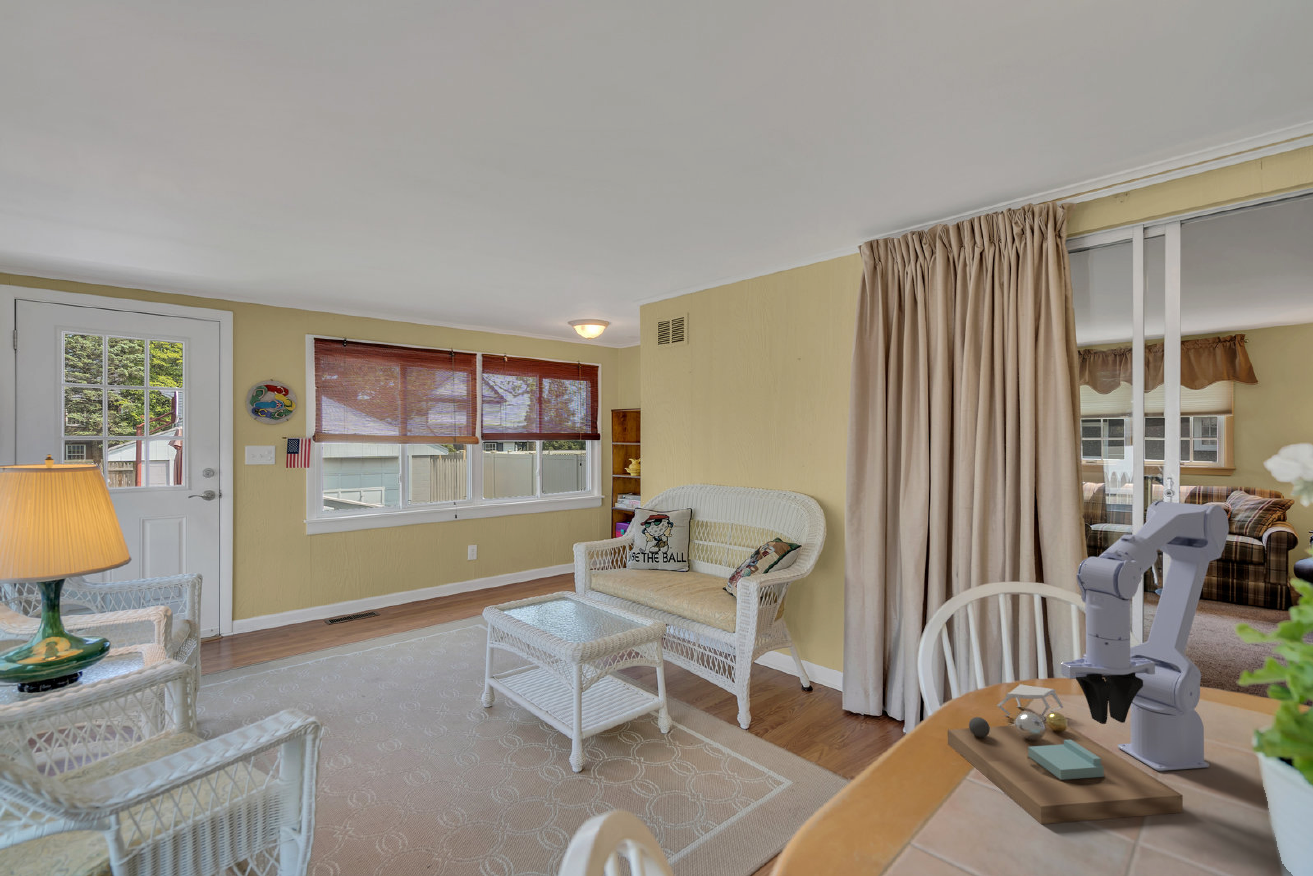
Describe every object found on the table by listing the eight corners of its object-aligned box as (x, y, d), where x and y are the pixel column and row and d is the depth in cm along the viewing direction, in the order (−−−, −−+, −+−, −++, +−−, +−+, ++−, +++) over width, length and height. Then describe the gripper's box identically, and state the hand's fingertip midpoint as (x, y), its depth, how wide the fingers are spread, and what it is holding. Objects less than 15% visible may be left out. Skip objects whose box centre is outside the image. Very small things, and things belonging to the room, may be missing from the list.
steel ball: (1033, 732, 109) (1033, 707, 109) (1051, 744, 105) (1051, 718, 105) (1009, 733, 109) (1009, 708, 109) (1027, 746, 104) (1027, 720, 104)
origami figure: (1024, 701, 128) (1024, 677, 128) (1066, 717, 120) (1065, 692, 120) (984, 712, 123) (984, 687, 123) (1025, 730, 115) (1025, 704, 115)
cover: (1068, 753, 102) (1068, 738, 102) (1103, 776, 95) (1103, 760, 95) (1028, 756, 101) (1028, 740, 101) (1060, 779, 94) (1060, 763, 94)
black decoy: (982, 731, 110) (982, 713, 110) (993, 740, 106) (993, 721, 106) (965, 732, 109) (964, 714, 109) (976, 741, 106) (976, 722, 106)
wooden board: (1062, 736, 113) (1062, 722, 113) (1182, 812, 90) (1182, 795, 90) (947, 743, 110) (947, 729, 110) (1041, 824, 88) (1040, 806, 88)
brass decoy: (1058, 726, 111) (1058, 708, 111) (1072, 735, 108) (1072, 716, 108) (1041, 727, 111) (1041, 709, 111) (1055, 736, 108) (1055, 717, 108)
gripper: (1127, 625, 103) (1128, 706, 103) (1046, 628, 102) (1047, 712, 102) (1167, 638, 96) (1167, 726, 96) (1080, 643, 95) (1081, 732, 95)
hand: (1108, 720), depth 98 cm, fingers open, 3 cm apart
